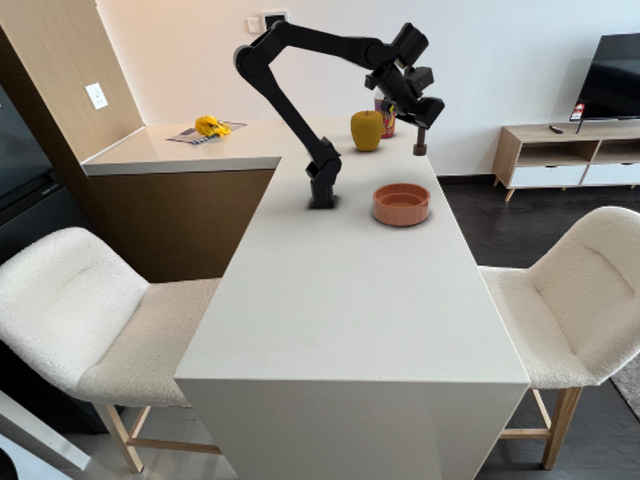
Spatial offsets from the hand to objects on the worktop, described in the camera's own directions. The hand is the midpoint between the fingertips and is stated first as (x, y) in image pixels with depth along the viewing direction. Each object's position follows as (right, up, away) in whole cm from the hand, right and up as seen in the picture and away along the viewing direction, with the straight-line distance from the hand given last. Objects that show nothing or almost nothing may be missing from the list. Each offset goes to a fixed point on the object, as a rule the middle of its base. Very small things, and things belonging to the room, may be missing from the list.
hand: (426, 127), depth 89 cm
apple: (-13, +5, +30) cm, 33 cm away
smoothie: (-5, +15, +41) cm, 43 cm away
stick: (-1, -6, +4) cm, 7 cm away
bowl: (-8, -24, -7) cm, 26 cm away
